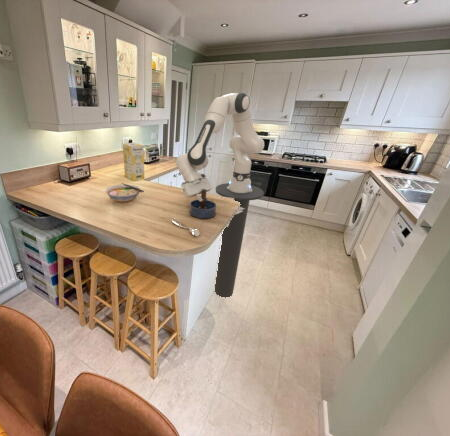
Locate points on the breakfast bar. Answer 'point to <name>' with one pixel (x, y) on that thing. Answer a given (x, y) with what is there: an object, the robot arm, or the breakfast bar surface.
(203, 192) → the muddler
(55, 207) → the breakfast bar surface
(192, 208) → the mixing bowl
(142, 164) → the pasta box
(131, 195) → the ramen bowl
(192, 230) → the silver metal spoon
